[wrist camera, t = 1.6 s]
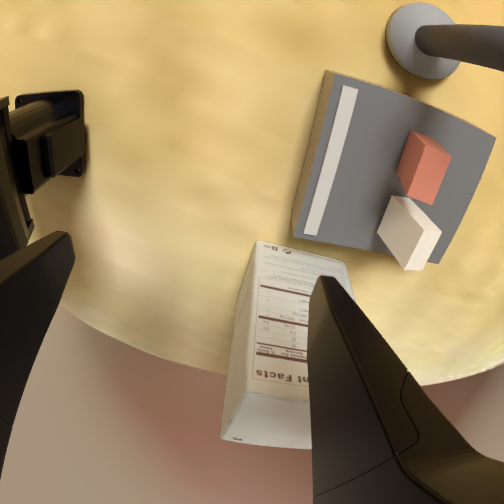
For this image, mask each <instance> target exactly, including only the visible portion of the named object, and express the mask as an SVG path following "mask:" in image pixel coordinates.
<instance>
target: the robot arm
mask: <svg viewBox="0 0 504 504" xmlns="http://www.w3.org/2000/svg"><path fill="white" fill-rule="evenodd" d="M74 95H76V96H77V100H75V99H74ZM20 99H21V102H20ZM8 105H10V104H9V96H6V97H3V98H0V478H1V473H2V468H3V464H4V459H5V454H6V451H7V446H8V442H9V439H10V435H11V431H12V426H13V423H14V420H15V416H16V413H17V410H18V407H19V404H20V400H21V397H22V394H23V391H24V388H25V386H26V382H27V380H28V377H29V374H30V372H31V369H32V366H33V364H34V361H35V359H36V356H37V354H38V351H39V348H40V346H41V344H42V341H43V339H44V337H45V334H46V332H47V329H48V327H49V325H50V323H51V320H52V318H53V316H54V314H55V312H56V309H57V307H58V305H59V302H60V300H61V297H62V294H63V291H64V289H65V286H66V283H67V281H68V278H69V275H70V273H71V270H72V268H73V265H74V262H75V253H74V249H73V244H72V240H71V236H70V234H69V233H67V232H62V231H56V232H53V233H51V234H49V235H47V236H45V237H43V238H41V239H39V240H37V241H36V242H34V243H32V244H30V245H28V246H27V244H28V240H29V238H30V236H31V234H32V232H33V229H34V227H35V226H34V223H33V220H32V219H31V218H30V214H29V211H28V207H27V203H26V200H25V197H26V196H27V195H28V194H33V193H34V192H35V191H37V190H38V189H39V188H40V187H41V186H43V185H44V184H45V183H46V182H47V181H49V180H50V179H51V178H54V177H56V176H57V175H64V176H75V177H80V176H81V175H83V174H84V173H85V155H84V153H85V135H84V120H83V94H82V92H81V91H80V90H63V91H50V92H39V93H29V94H22V95H19V96H17V97H16V99H15V110H13V111H10V112H9V110H8ZM77 168H79V169H80V171H78V169H77ZM307 368H308V383H309V400H310V419H311V442H312V473H313V504H504V462H501V461H498V460H495V459H492V458H489V457H486V456H484V455H482V454H481V453H479V452H478V451H476V450H475V449H474V448H473V447H472V446H471V445H470V444H469V443H468V442H467V441H466V440H465V439H464V438H463V436H462V435H461V434H460V433H459V432H458V431H457V430H456V428H455V427H454V426H453V425H452V424H451V422H450V421H449V420H448V419H447V418H446V417H445V416H444V415H443V414H442V412H441V411H440V410H439V409H438V407H437V406H436V405H435V404H434V403H433V401H432V400H431V399H430V398H429V397H428V395H427V394H426V393H425V392H424V391H423V389H422V388H421V386H420V385H419V384H418V382H417V381H416V380H415V378H414V377H413V376H412V374H411V373H410V372H409V371H408V372H407V368H406V367H405V365H404V364H403V363H402V361H401V360H400V359H399V357H398V356H397V355H396V353H395V352H394V351H393V350H392V348H391V347H390V346H389V344H388V343H387V342H386V340H385V339H384V338H383V337H382V335H381V334H380V333H379V331H378V330H377V329H376V328H375V326H374V325H373V324H372V323H371V321H370V320H369V319H368V318H367V316H366V315H365V314H364V312H363V311H362V310H361V309H360V307H359V306H358V305H357V304H356V302H355V301H354V300H353V299H352V298H351V296H350V295H349V294H348V293H347V291H346V290H345V289H344V288H343V286H342V285H341V284H340V283H339V282H338V280H337V279H336V278H335V277H332V276H326V275H320V276H319V277H318V278H317V281H316V283H315V286H314V289H313V291H312V294H311V296H310V300H309V313H308V337H307Z"/></svg>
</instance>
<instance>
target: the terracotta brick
mask: <svg viewBox="0 0 504 504" xmlns="http://www.w3.org/2000/svg"><path fill="white" fill-rule="evenodd" d="M451 157H452V156H451V155H450V154H449V153H448V152H447V151H446V150H444V149H443V148H442V147H441V146H440V145H439V144H438V143H437V142H436V141H435V140H434V139H433V138H431V137H428V136H426V135H424V134H421V133H419V132H416V131H414V130H411V129H410V133H409V136H408V139H407V142H406V145H405V148H404V151H403V154H402V157H401V160H400V162H399V165H398V168H397V173H398V176H399V178H400V181H401V183H402V185H403V188H404V190H405V193H406V195H407V196H409V197H412V198H414V199H417V200H420V201H422V202H425V203H427V204H430V205H432V204H433V202H434V199H435V197H436V195H437V192H438V190H439V187H440V185H441V183H442V180H443V178H444V175H445V173H446V170H447V168H448V165H449V162H450V160H451Z"/></svg>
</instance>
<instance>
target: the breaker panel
mask: <svg viewBox="0 0 504 504" xmlns="http://www.w3.org/2000/svg"><path fill="white" fill-rule="evenodd" d="M410 129H411V130H414V131H416V132H419V133H421V134H424V135H426V136H428V137H431V138H433V139H434V140H435V141H436V142H437V143H438V144H439V145H440V146H441V147H442V148H443V149H444V150H446V151H447V152H448V153H449V154H450V155H451V156H452V157H451V160H450V162H449V165H448V168H447V170H446V173H445V175H444V178H443V180H442V183H441V185H440V187H439V190H438V192H437V195H436V197H435V199H434V202H433V204H432V205H430V204H427V203H425V202H422V201H420V200H417V199H414V198H412V197H409V196H407V195H406V193H405V190H404V188H403V185H402V183H401V181H400V178H399V176H398V173H397V168H398V165H399V162H400V160H401V157H402V154H403V151H404V148H405V145H406V142H407V139H408V136H409V133H410ZM495 140H496V137H494V136H492V135H491V134H489V133H487V132H486V131H484V130H482V129H481V128H479V127H477V126H475V125H473V124H472V123H470V122H468V121H466V120H463V119H461V118H459V117H457V116H455V115H453V114H451V113H449V112H446V111H444V110H442V109H440V108H437V107H435V106H433V105H430V104H428V103H426V102H423V101H421V100H418V99H416V98H413V97H411V96H408V95H405V94H403V93H400V92H397V91H394V90H392V89H389V88H386V87H383V86H380V85H377V84H374V83H371V82H368V81H364V80H361V79H358V78H354V77H351V76H347V75H344V74H340V73H337V72H333V71H329V70H326V71H325V75H324V80H323V84H322V89H321V93H320V97H319V102H318V106H317V110H316V115H315V119H314V123H313V127H312V132H311V136H310V140H309V144H308V148H307V152H306V156H305V160H304V165H303V169H302V173H301V177H300V181H299V185H298V189H297V193H296V197H295V200H294V204H293V208H292V212H291V214H292V226H293V237H297V238H302V239H308V240H314V241H319V242H325V243H330V244H336V245H341V246H347V247H352V248H358V249H363V250H368V251H374V252H379V253H384V254H389V255H393V254H392V253H391V251H390V250H389V248H388V247H387V245H386V244H385V243H384V241H383V240H382V239H381V237H380V236H379V234H378V233H377V231H378V228H379V226H380V224H381V221H382V219H383V216H384V214H385V211H386V209H387V206H388V204H389V201H390V199H391V196H392V195H394V196H400V197H406V198H410V199H411V200H412V201H413V202H414V203H415V204H416V205H417V206H418V207H419V208H420V209H421V210H422V211H423V212H424V213H425V214H426V215H427V216H428V217H429V219H430V220H431V221H432V222H433V223H434V224H435V225H436V226H437V227H438V228H439V229H440V230H441V232H442V233H441V235H440V237H439V239H438V241H437V243H436V245H435V247H434V249H433V251H432V253H431V254H430V256H429V258H428V260H427V262H430V263H435V264H439V262H440V260H441V259H442V257H443V255H444V253H445V251H446V249H447V248H448V246H449V244H450V242H451V240H452V238H453V236H454V234H455V232H456V231H457V229H458V227H459V225H460V223H461V221H462V218H463V216H464V214H465V212H466V210H467V208H468V206H469V204H470V202H471V199H472V197H473V195H474V193H475V190H476V188H477V186H478V184H479V181H480V179H481V176H482V174H483V172H484V169H485V167H486V164H487V161H488V159H489V156H490V154H491V151H492V148H493V145H494V143H495Z"/></svg>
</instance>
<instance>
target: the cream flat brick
mask: <svg viewBox="0 0 504 504" xmlns="http://www.w3.org/2000/svg"><path fill="white" fill-rule="evenodd" d="M377 233H378V234H379V236H380V237H381V239H382V240H383V241H384V243H385V244H386V245H387V247H388V248H389V250H390V251H391V253H392V254H393V255H394V257H395V258H396V260H397V261H398V263H399V264H400V265H401V267H402V268H403V270H422V269H423V267H424V265H425V264H426V262H427V260H428V258H429V256H430V254H431V253H432V251H433V249H434V247H435V245H436V243H437V241H438V239H439V237H440V235H441V233H442V232H441V230H440V229H439V228H438V227H437V226H436V225H435V224H434V223H433V222H432V221H431V220H430V219H429V217H428V216H427V215H426V214H425V213H424V212H423V211H422V210H421V209H420V208H419V207H418V206H417V205H416V204H415V203H414V202H413V201H412V200H411V199H410V198H406V197H400V196H394V195H392V196H391V199H390V201H389V204H388V206H387V209H386V211H385V214H384V216H383V219H382V221H381V224H380V226H379V228H378V231H377Z"/></svg>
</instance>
